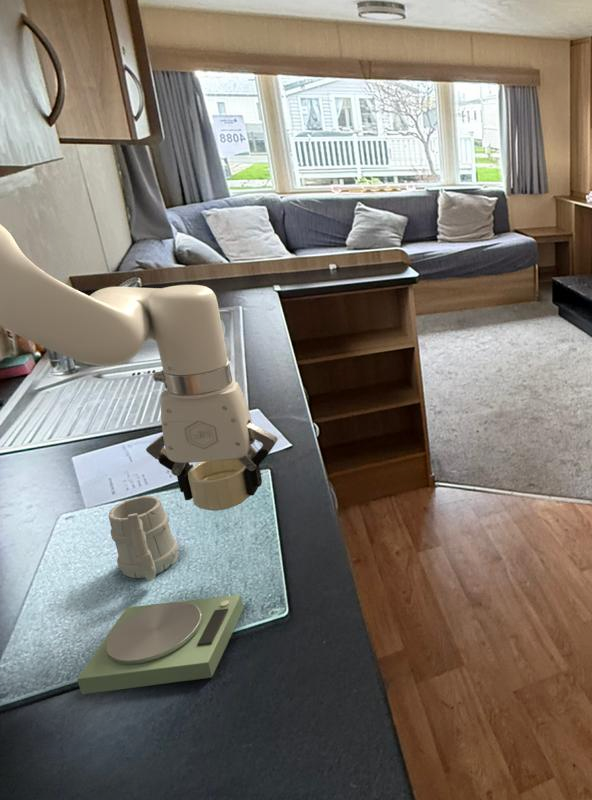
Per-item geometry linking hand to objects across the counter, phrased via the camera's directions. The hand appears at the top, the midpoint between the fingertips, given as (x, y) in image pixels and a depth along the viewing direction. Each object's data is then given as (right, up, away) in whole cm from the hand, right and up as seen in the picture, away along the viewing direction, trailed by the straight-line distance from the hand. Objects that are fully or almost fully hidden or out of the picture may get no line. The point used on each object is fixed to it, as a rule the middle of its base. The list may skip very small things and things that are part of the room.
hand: (223, 492), depth 93 cm
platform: (-2, -15, -12) cm, 19 cm away
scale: (-1, -18, -11) cm, 21 cm away
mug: (-13, -13, +4) cm, 18 cm away
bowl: (0, -1, 0) cm, 1 cm away
